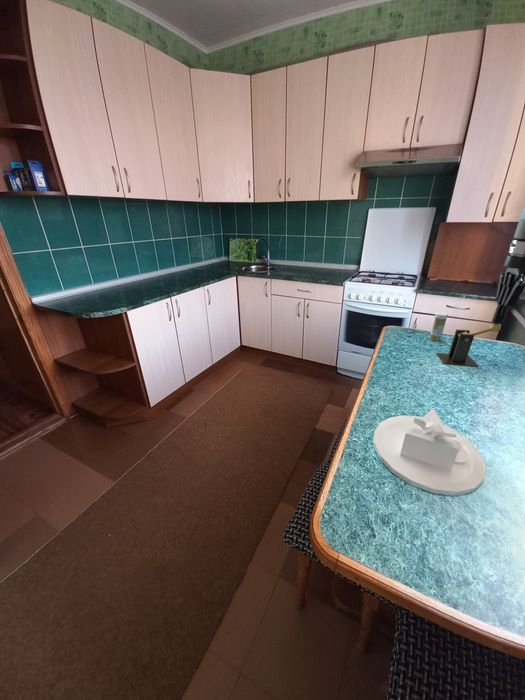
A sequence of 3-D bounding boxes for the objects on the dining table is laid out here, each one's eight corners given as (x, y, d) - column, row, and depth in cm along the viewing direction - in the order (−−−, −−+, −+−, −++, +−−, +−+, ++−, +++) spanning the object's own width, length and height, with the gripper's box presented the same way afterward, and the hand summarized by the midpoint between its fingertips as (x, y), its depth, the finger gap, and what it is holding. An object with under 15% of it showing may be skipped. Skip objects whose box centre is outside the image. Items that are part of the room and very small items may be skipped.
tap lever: (498, 328, 106) (497, 321, 105) (503, 332, 104) (501, 324, 103) (458, 339, 111) (457, 332, 110) (461, 343, 108) (460, 335, 107)
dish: (490, 514, 58) (511, 476, 53) (363, 467, 70) (370, 431, 64) (479, 437, 78) (494, 403, 72) (381, 409, 89) (387, 378, 83)
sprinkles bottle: (426, 339, 133) (434, 311, 127) (437, 339, 133) (444, 311, 127) (431, 343, 129) (439, 315, 123) (442, 343, 129) (450, 315, 123)
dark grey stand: (467, 358, 116) (477, 328, 111) (477, 369, 109) (488, 338, 103) (435, 355, 119) (443, 326, 113) (442, 366, 111) (451, 336, 105)
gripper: (498, 251, 100) (477, 316, 111) (520, 258, 89) (493, 329, 99) (524, 252, 98) (499, 317, 109) (548, 258, 87) (518, 330, 98)
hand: (496, 323), depth 104 cm, fingers closed
